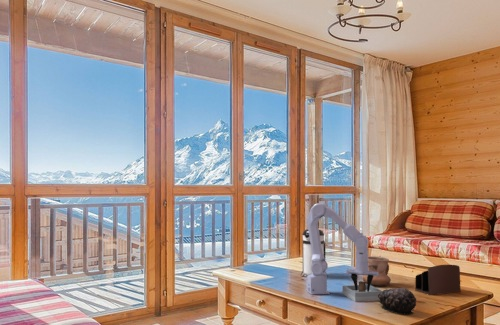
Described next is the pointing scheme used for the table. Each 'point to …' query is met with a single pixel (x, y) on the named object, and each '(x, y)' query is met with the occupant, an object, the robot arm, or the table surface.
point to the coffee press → (310, 251)
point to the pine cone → (397, 300)
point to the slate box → (361, 293)
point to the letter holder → (439, 280)
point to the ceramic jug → (378, 270)
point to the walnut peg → (362, 286)
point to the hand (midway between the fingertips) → (362, 290)
